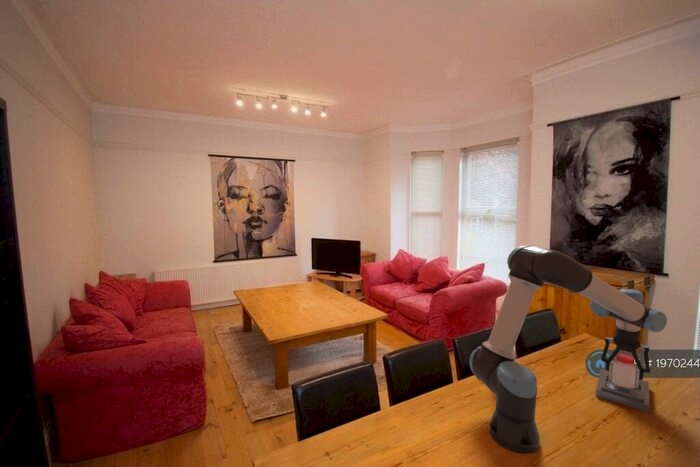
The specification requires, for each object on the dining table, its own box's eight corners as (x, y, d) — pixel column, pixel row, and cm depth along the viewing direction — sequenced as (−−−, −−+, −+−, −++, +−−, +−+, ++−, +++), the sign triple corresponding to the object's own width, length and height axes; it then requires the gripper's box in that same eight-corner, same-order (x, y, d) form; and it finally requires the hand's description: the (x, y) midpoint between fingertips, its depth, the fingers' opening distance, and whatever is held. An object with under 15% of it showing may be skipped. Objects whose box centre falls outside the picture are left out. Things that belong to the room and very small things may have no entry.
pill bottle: (606, 380, 135) (608, 354, 134) (617, 376, 138) (619, 351, 137) (629, 390, 128) (631, 363, 127) (639, 385, 131) (642, 359, 130)
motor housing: (648, 413, 122) (651, 387, 121) (595, 396, 133) (597, 372, 132) (647, 388, 138) (650, 365, 137) (600, 375, 149) (602, 354, 148)
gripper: (663, 332, 126) (657, 388, 129) (596, 319, 140) (592, 370, 142) (663, 338, 121) (658, 396, 123) (594, 324, 135) (590, 377, 137)
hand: (623, 382), depth 133 cm, fingers closed on pill bottle, 8 cm apart
